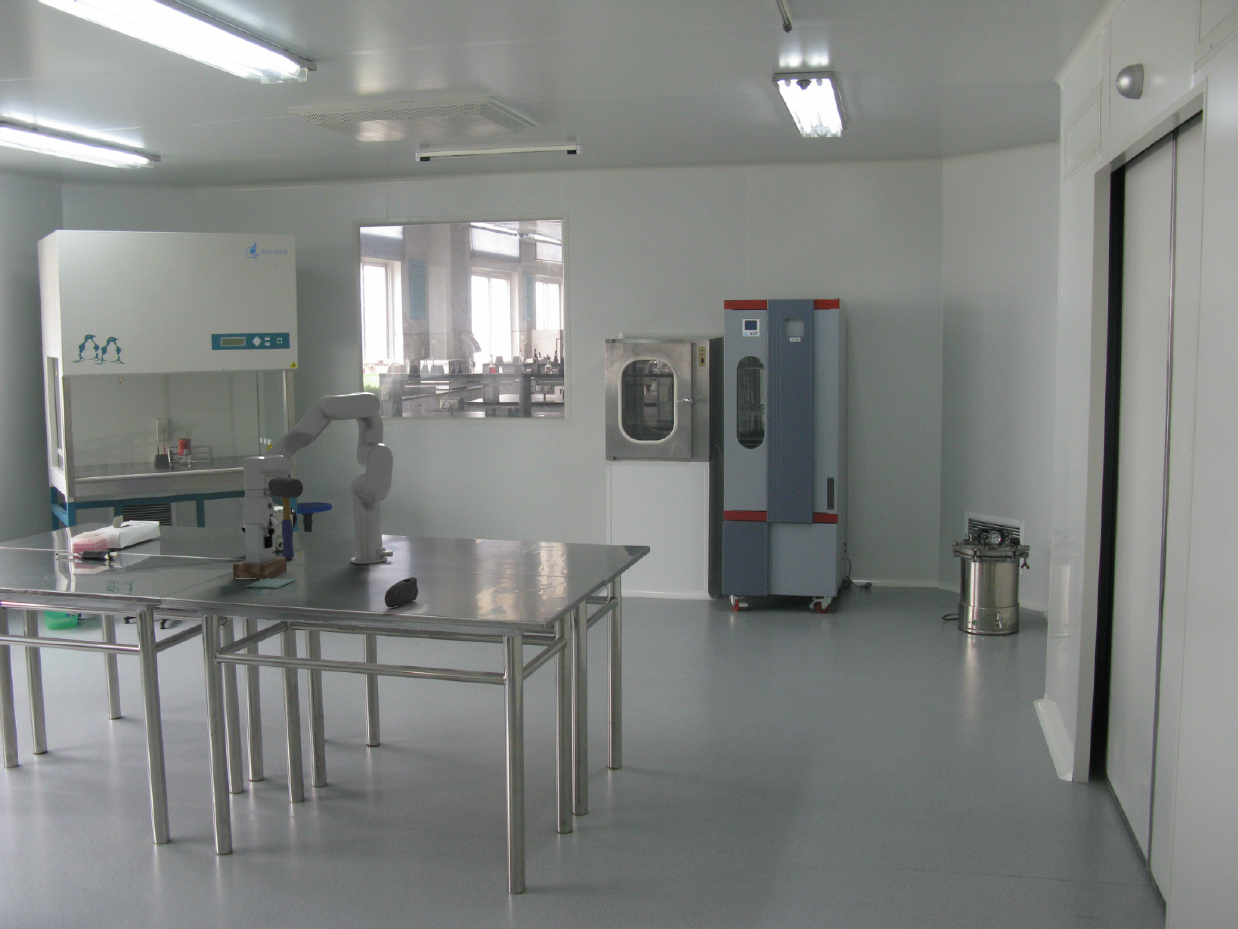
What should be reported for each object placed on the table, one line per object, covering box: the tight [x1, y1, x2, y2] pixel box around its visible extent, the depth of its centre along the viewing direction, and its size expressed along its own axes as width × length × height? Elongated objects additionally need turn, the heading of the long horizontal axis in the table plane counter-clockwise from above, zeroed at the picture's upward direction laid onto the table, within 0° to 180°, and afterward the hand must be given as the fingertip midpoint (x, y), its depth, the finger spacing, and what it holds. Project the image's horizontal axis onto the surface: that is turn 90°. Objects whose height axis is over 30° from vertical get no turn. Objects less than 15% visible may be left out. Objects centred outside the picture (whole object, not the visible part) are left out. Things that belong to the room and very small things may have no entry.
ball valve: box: [274, 505, 298, 552], centre depth 378 cm, size 18×8×18 cm, turn 147°
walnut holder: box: [232, 556, 288, 579], centre depth 331 cm, size 12×14×5 cm
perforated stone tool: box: [384, 576, 419, 608], centre depth 285 cm, size 15×5×7 cm, turn 157°
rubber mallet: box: [268, 476, 304, 561], centre depth 358 cm, size 12×8×30 cm, turn 55°
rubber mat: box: [245, 578, 296, 588], centre depth 317 cm, size 11×11×1 cm
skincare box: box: [244, 524, 277, 564], centre depth 331 cm, size 8×6×15 cm
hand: (260, 546), depth 330 cm, fingers closed on skincare box, 6 cm apart
